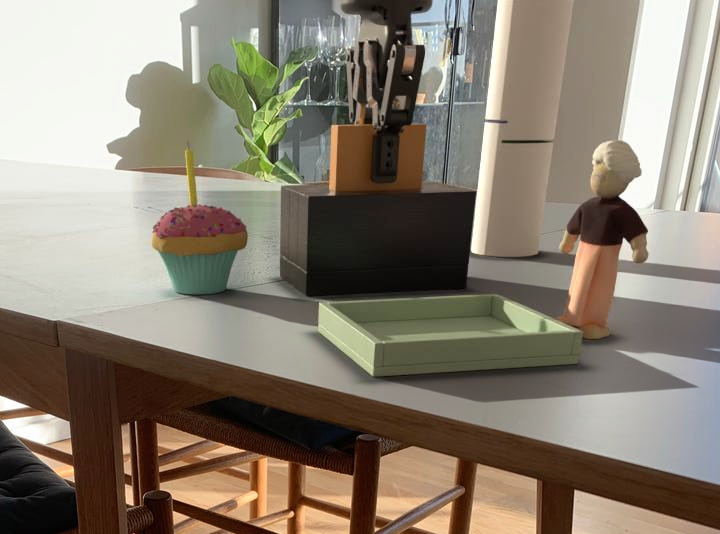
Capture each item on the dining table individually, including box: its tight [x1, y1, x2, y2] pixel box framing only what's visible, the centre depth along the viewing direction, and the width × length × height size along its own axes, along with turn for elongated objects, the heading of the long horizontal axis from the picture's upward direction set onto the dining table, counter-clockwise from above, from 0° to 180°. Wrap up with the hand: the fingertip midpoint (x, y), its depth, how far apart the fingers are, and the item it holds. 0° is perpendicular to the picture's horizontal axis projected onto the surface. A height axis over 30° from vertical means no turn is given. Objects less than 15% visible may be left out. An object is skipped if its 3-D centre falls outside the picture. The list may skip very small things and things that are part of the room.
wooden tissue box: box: [279, 180, 477, 297], centre depth 87 cm, size 16×10×8 cm, turn 101°
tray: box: [317, 293, 583, 378], centre depth 66 cm, size 14×13×2 cm
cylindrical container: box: [470, 0, 575, 258], centre depth 97 cm, size 7×7×25 cm
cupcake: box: [151, 139, 249, 296], centre depth 83 cm, size 9×8×12 cm
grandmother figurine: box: [554, 139, 649, 340], centre depth 67 cm, size 8×4×13 cm, turn 40°
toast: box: [328, 123, 427, 191], centre depth 85 cm, size 8×2×11 cm, turn 101°
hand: (375, 179), depth 84 cm, fingers open, 3 cm apart
